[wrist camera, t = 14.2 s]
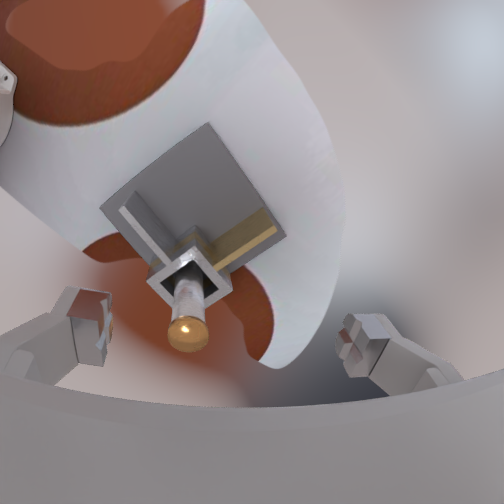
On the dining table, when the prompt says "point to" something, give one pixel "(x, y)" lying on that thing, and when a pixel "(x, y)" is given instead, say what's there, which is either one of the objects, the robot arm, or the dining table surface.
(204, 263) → the hinge
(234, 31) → the dining table surface
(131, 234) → the base board
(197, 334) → the hinge pin
